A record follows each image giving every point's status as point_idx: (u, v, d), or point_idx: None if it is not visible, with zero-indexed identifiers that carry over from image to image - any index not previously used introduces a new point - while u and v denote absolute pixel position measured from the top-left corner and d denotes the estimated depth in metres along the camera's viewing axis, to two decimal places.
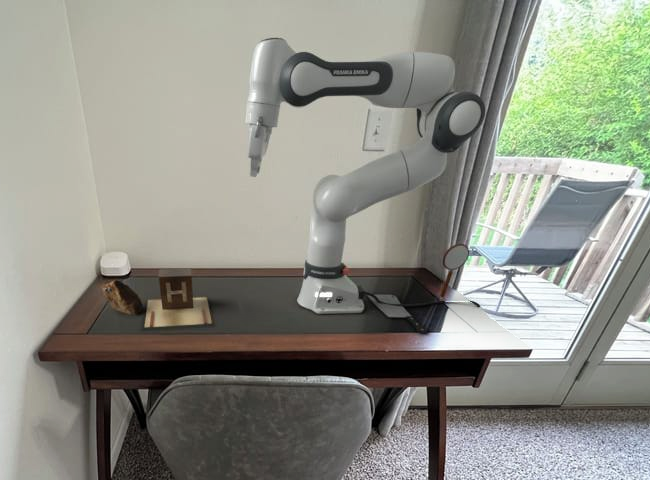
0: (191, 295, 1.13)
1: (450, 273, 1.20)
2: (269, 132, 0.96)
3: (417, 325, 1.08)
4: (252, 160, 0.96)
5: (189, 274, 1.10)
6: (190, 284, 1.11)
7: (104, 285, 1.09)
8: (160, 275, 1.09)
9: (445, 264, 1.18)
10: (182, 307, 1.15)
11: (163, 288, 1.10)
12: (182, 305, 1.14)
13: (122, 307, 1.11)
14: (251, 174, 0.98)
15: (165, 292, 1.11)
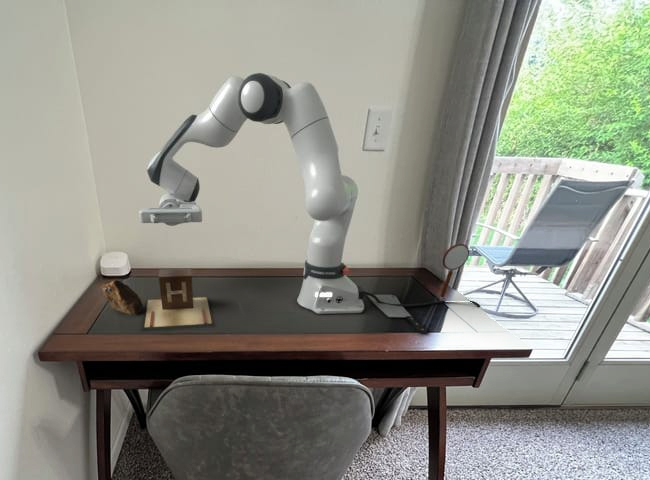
0: (191, 295, 1.13)
1: (450, 273, 1.20)
2: (165, 204, 1.18)
3: (417, 325, 1.08)
4: (150, 219, 1.13)
5: (189, 274, 1.10)
6: (190, 284, 1.11)
7: (104, 285, 1.09)
8: (160, 275, 1.09)
9: (445, 264, 1.18)
10: (182, 307, 1.15)
11: (163, 288, 1.10)
12: (182, 305, 1.14)
13: (122, 307, 1.11)
14: (153, 221, 1.10)
15: (165, 292, 1.11)
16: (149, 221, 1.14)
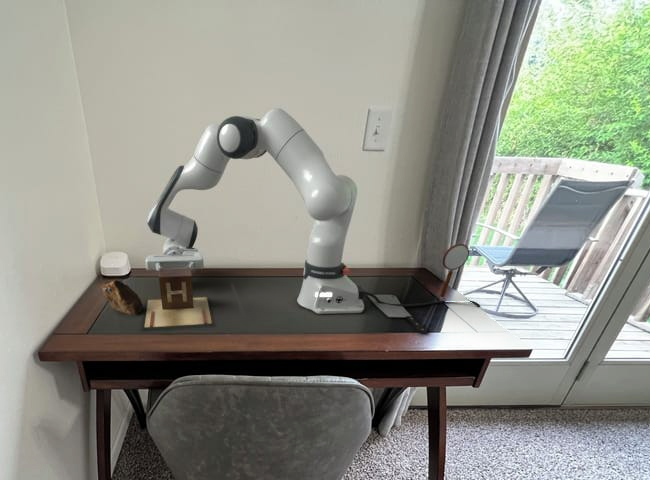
0: (191, 295, 1.13)
1: (450, 273, 1.20)
2: (169, 252, 1.27)
3: (417, 325, 1.08)
4: (156, 268, 1.22)
5: (189, 274, 1.10)
6: (190, 284, 1.11)
7: (104, 285, 1.09)
8: (160, 275, 1.09)
9: (445, 264, 1.18)
10: (182, 307, 1.15)
11: (163, 288, 1.10)
12: (182, 305, 1.14)
13: (122, 307, 1.11)
14: None
15: (165, 292, 1.11)
16: (154, 269, 1.23)
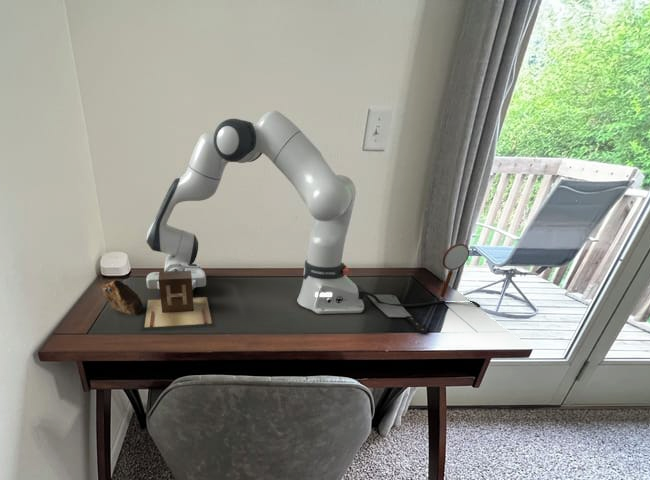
0: (191, 298, 1.11)
1: (450, 273, 1.20)
2: (171, 269, 1.23)
3: (417, 325, 1.08)
4: (157, 286, 1.19)
5: (189, 277, 1.08)
6: (190, 287, 1.09)
7: (104, 285, 1.09)
8: (160, 277, 1.07)
9: (445, 264, 1.18)
10: (182, 310, 1.13)
11: (163, 291, 1.08)
12: (182, 308, 1.12)
13: (122, 307, 1.11)
14: None
15: (165, 295, 1.09)
16: (156, 287, 1.19)
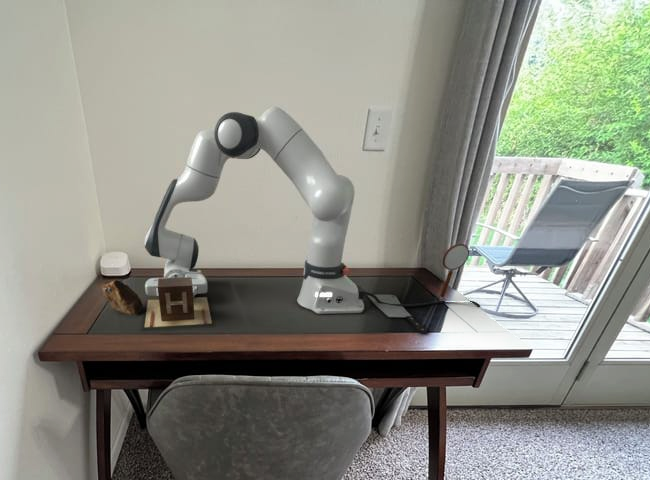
0: (192, 306, 1.06)
1: (450, 273, 1.20)
2: (171, 275, 1.18)
3: (417, 325, 1.08)
4: None
5: (190, 284, 1.03)
6: (190, 294, 1.04)
7: (104, 285, 1.09)
8: (159, 285, 1.02)
9: (445, 264, 1.18)
10: (182, 318, 1.08)
11: (162, 299, 1.03)
12: (182, 316, 1.07)
13: (122, 307, 1.11)
14: None
15: (164, 303, 1.04)
16: (155, 294, 1.14)
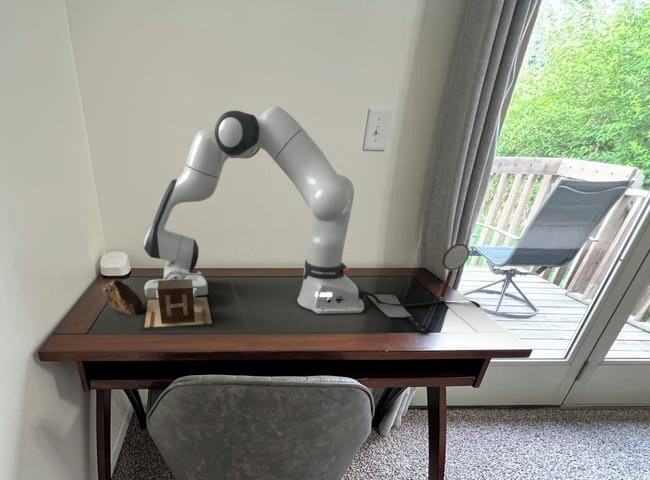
0: (192, 308, 1.05)
1: (450, 273, 1.20)
2: (170, 277, 1.17)
3: (417, 325, 1.08)
4: (156, 295, 1.12)
5: (190, 286, 1.02)
6: (191, 296, 1.03)
7: (104, 285, 1.09)
8: (159, 287, 1.01)
9: (445, 264, 1.18)
10: (183, 321, 1.06)
11: (162, 301, 1.02)
12: (182, 318, 1.06)
13: (122, 307, 1.11)
14: None
15: (164, 305, 1.03)
16: (154, 296, 1.13)
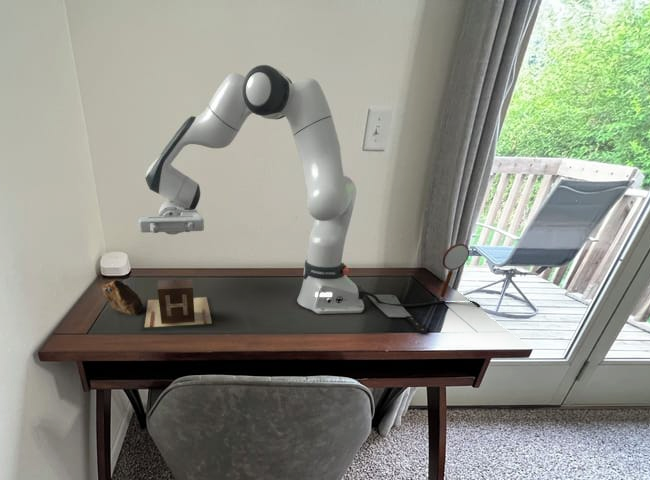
0: (192, 308, 1.05)
1: (450, 273, 1.20)
2: (165, 213, 1.13)
3: (417, 325, 1.08)
4: (150, 229, 1.09)
5: (190, 286, 1.02)
6: (191, 296, 1.03)
7: (104, 285, 1.09)
8: (159, 287, 1.01)
9: (445, 264, 1.18)
10: (183, 321, 1.06)
11: (162, 301, 1.02)
12: (182, 318, 1.06)
13: (122, 307, 1.11)
14: None
15: (164, 305, 1.03)
16: (149, 230, 1.09)
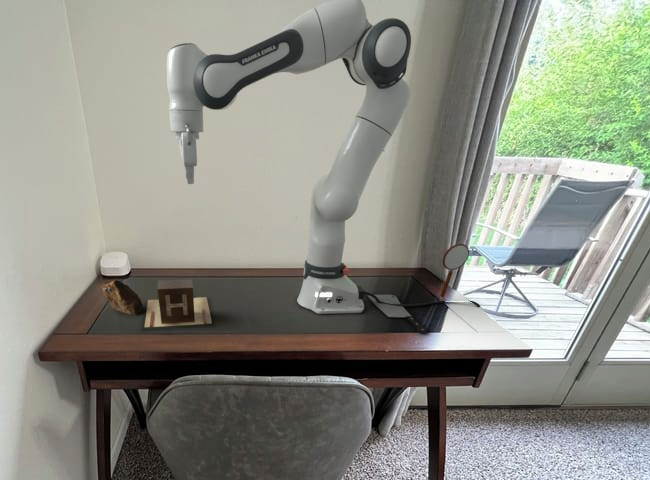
0: (192, 308, 1.05)
1: (450, 273, 1.20)
2: (197, 137, 0.95)
3: (417, 325, 1.08)
4: (187, 168, 0.95)
5: (190, 286, 1.02)
6: (191, 296, 1.03)
7: (104, 285, 1.09)
8: (159, 287, 1.01)
9: (445, 264, 1.18)
10: (183, 321, 1.06)
11: (162, 301, 1.02)
12: (182, 318, 1.06)
13: (122, 307, 1.11)
14: (188, 182, 0.97)
15: (164, 305, 1.03)
16: None
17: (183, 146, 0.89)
